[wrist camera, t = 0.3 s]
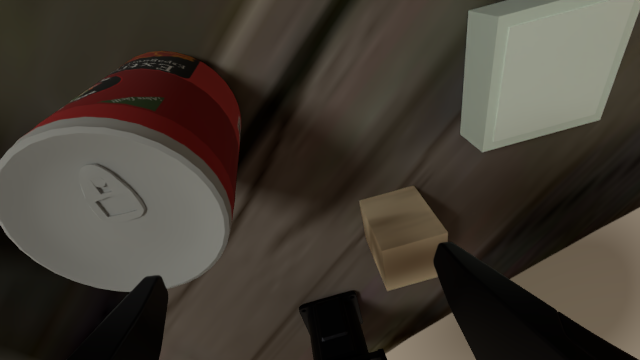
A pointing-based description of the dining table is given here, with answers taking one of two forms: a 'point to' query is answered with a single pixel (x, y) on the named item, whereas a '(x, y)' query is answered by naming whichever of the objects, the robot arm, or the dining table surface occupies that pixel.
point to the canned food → (129, 177)
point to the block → (402, 236)
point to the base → (540, 66)
